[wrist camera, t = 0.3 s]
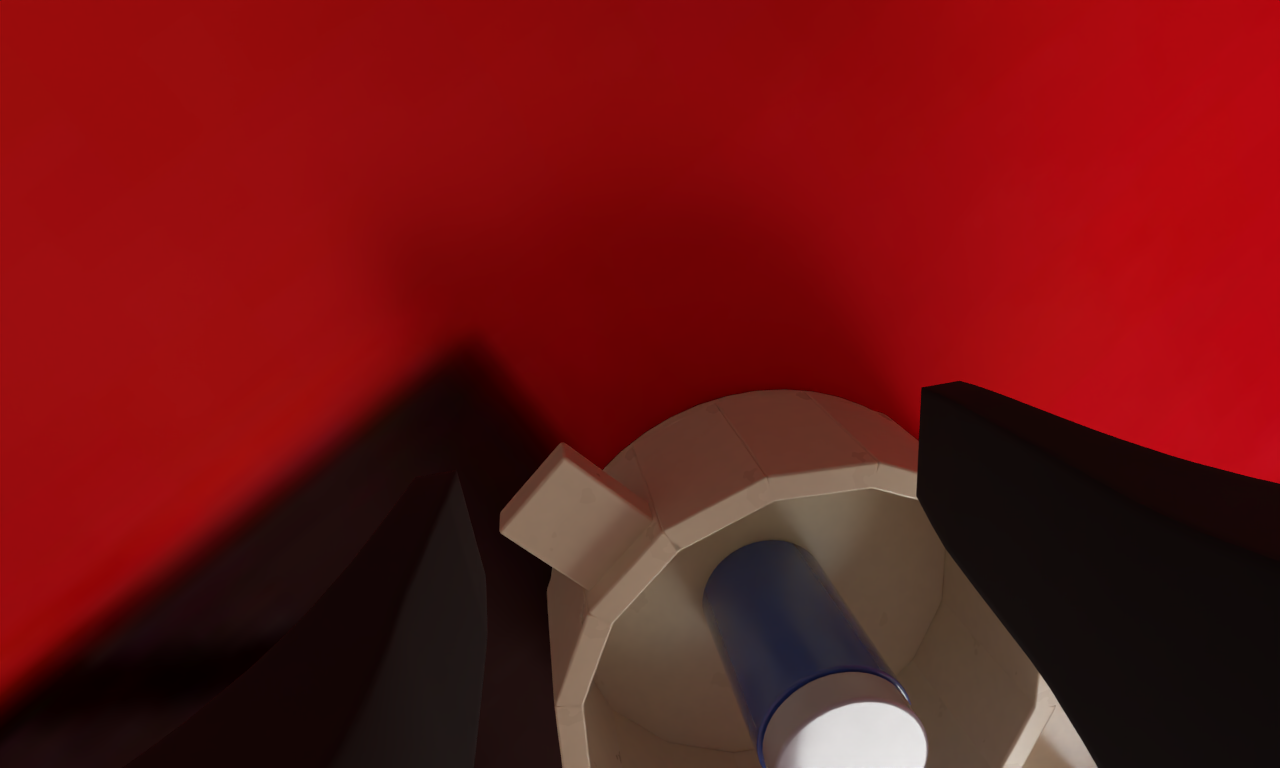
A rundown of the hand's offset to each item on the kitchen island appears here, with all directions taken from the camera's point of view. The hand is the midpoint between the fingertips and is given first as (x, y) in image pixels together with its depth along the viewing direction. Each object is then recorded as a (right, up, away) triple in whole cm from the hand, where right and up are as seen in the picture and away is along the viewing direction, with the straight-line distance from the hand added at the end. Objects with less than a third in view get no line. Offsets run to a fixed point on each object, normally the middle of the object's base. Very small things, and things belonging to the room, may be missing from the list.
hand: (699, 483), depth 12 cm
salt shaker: (+3, -5, +13) cm, 14 cm away
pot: (+3, -5, +13) cm, 14 cm away
